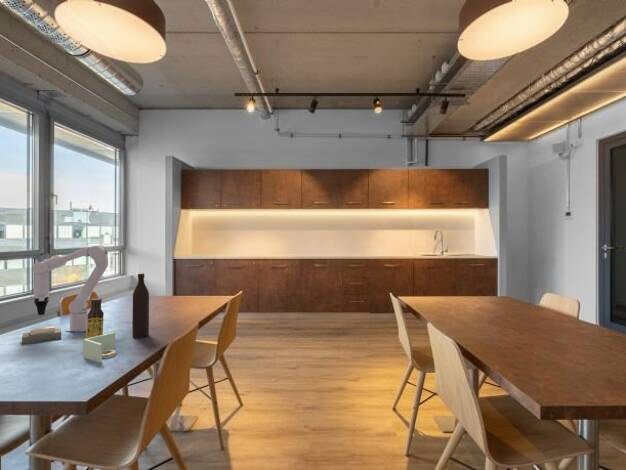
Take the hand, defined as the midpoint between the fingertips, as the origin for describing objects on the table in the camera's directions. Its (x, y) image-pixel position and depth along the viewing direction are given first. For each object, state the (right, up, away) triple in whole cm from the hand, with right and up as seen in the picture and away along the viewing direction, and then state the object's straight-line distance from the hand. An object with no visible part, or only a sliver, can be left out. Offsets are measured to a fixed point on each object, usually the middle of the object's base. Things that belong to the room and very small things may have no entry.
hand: (41, 313), depth 169 cm
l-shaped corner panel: (+52, -10, -31) cm, 61 cm away
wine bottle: (+52, -10, -5) cm, 53 cm away
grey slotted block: (+9, -9, -11) cm, 17 cm away
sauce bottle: (+37, -10, -17) cm, 42 cm away
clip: (+9, -9, -11) cm, 17 cm away
